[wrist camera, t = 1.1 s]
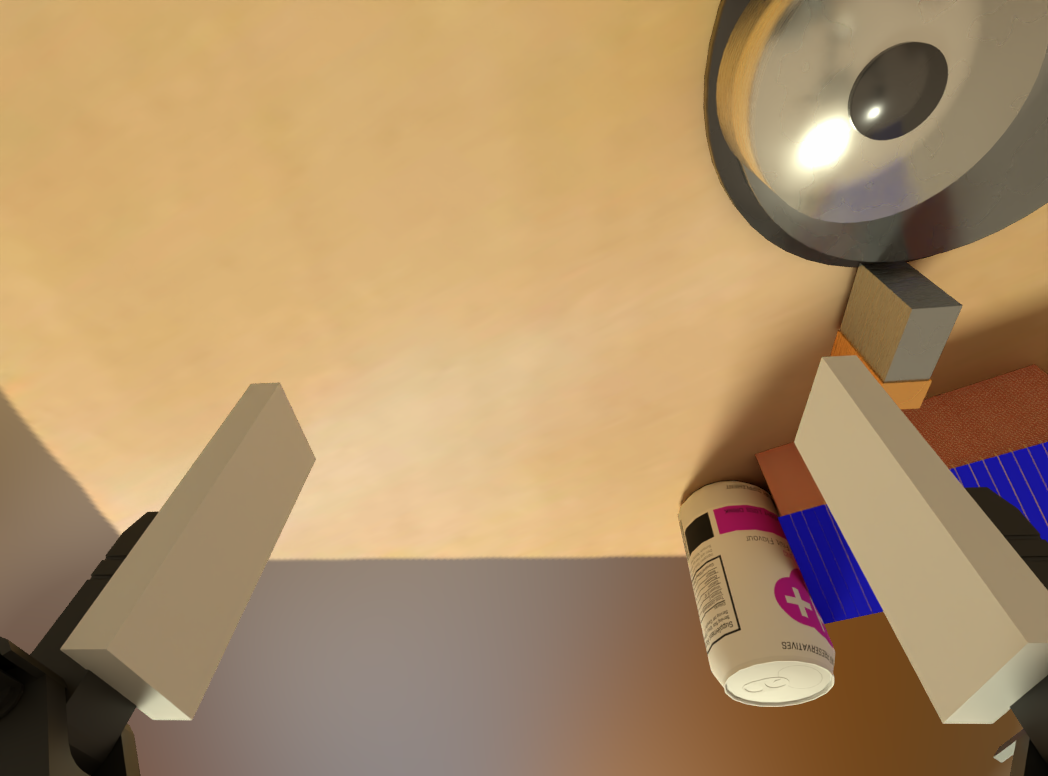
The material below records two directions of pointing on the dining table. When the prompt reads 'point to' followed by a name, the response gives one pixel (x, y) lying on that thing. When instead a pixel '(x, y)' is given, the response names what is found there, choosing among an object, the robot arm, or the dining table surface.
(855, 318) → the turntable
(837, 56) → the cover
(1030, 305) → the dining table surface
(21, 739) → the robot arm
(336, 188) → the dining table surface
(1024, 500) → the house
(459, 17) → the dining table surface
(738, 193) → the turntable base
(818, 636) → the supplement can
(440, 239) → the dining table surface
